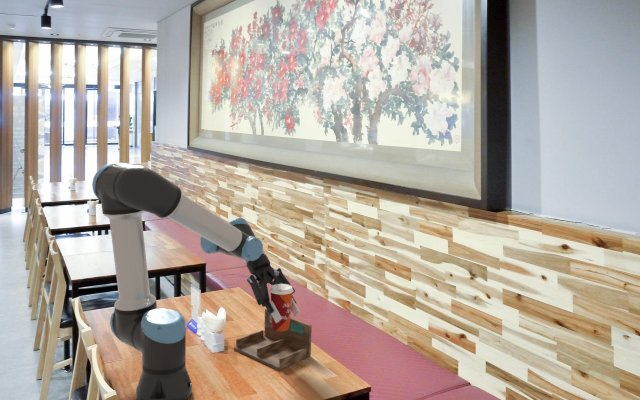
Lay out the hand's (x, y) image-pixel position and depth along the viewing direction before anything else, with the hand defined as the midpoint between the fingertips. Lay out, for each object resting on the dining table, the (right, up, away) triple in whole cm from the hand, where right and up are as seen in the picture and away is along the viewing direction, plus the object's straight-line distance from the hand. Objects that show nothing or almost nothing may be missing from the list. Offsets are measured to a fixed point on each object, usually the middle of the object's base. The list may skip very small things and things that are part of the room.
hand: (288, 317), depth 170 cm
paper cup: (-3, -4, +3) cm, 6 cm away
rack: (-6, -14, +9) cm, 18 cm away
